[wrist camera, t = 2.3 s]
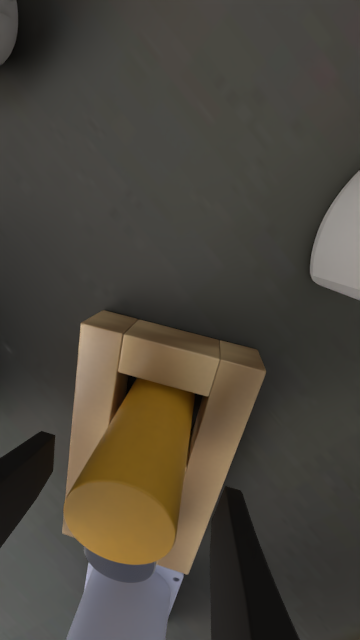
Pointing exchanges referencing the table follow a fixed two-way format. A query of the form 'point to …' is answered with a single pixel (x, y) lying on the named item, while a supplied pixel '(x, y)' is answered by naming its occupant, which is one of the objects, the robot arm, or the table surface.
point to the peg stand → (175, 371)
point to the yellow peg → (135, 478)
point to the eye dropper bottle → (339, 243)
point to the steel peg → (120, 568)
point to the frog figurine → (8, 27)
